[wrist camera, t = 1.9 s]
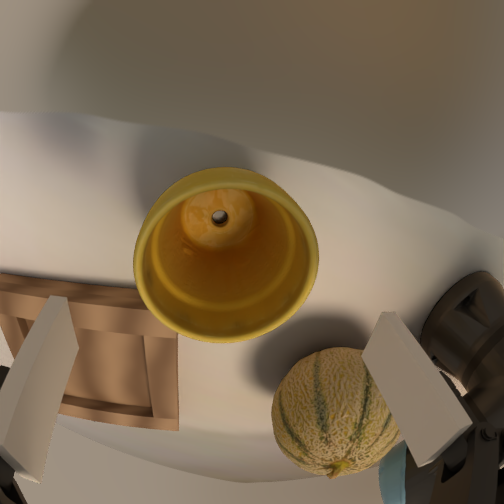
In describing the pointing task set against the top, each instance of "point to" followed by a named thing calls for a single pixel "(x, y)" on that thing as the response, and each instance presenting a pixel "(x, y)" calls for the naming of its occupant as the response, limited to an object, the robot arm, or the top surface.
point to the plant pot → (225, 256)
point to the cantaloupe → (332, 414)
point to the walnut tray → (103, 351)
